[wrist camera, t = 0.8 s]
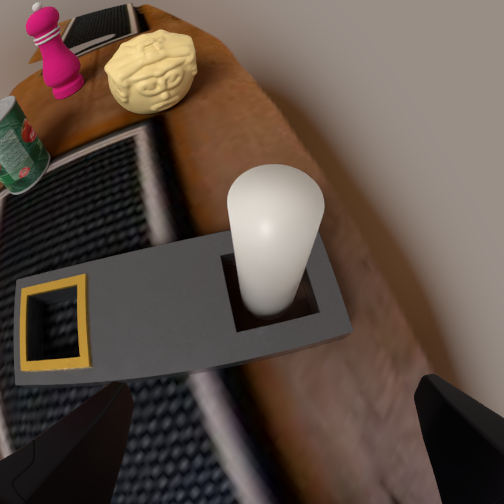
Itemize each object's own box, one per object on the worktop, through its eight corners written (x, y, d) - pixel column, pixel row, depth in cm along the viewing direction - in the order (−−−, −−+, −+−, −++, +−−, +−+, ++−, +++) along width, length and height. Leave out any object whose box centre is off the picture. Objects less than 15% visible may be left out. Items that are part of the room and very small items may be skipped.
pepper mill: (60, 85, 43) (28, 5, 25) (91, 74, 43) (62, -12, 25) (48, 106, 40) (8, 19, 22) (80, 94, 40) (44, -1, 22)
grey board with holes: (307, 229, 27) (312, 211, 24) (343, 338, 22) (354, 330, 20) (31, 289, 24) (14, 278, 22) (32, 388, 20) (13, 384, 17)
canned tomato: (60, 152, 33) (25, 92, 23) (28, 198, 30) (-18, 141, 20) (30, 149, 34) (-3, 98, 24) (0, 191, 31) (-40, 141, 21)
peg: (297, 316, 23) (334, 236, 12) (244, 323, 23) (231, 248, 12) (289, 267, 25) (312, 161, 14) (238, 273, 25) (224, 168, 14)
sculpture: (130, 138, 33) (103, 67, 23) (113, 99, 38) (92, 41, 28) (213, 103, 36) (204, 31, 26) (181, 71, 40) (170, 13, 31)
